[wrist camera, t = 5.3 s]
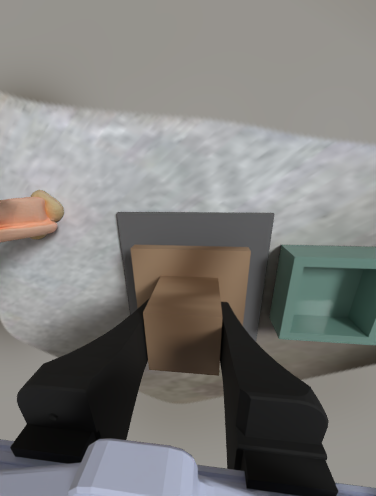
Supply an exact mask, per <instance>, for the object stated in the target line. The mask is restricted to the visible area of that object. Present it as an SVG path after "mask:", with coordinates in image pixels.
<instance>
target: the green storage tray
mask: <svg viewBox="0 0 376 496" xmlns="http://www.w3.org/2000/svg"><path fill="white" fill-rule="evenodd" d="M269 318H270V320H271V322H272V324H273V327H274V329H275V331H276V333H277V336H278V338H279V339H288V340H303V341H318V342H333V343H348V344H364V345H376V247H362V246H314V245H281V250H280V256H279V262H278V268H277V274H276V280H275V286H274V292H273V298H272V304H271V310H270V317H269Z"/></svg>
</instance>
